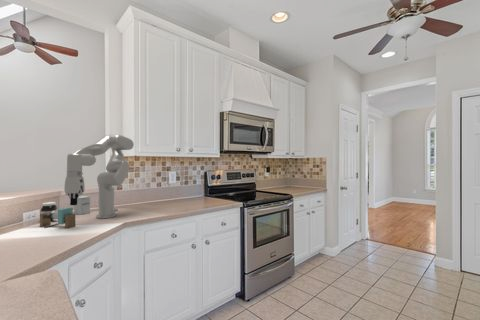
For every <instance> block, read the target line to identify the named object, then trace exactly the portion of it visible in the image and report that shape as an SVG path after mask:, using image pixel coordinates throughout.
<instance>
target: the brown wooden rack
mask: <svg viewBox="0 0 480 320" xmlns="http://www.w3.org/2000/svg"><path fill="white" fill-rule="evenodd" d="M51 219H58V214H55V213H51V212H47V213H42V214H41V213H40V214H39V227H40V228H41V227H42V228H44V229H47V228H51V227H54V226H58V225H59V224H58V223H54V224H52V221H51ZM73 227H74V228H75V227H76V214H74V212H73V213H72V214H65V224H64V228H65V229H70V228H73Z"/></svg>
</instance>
